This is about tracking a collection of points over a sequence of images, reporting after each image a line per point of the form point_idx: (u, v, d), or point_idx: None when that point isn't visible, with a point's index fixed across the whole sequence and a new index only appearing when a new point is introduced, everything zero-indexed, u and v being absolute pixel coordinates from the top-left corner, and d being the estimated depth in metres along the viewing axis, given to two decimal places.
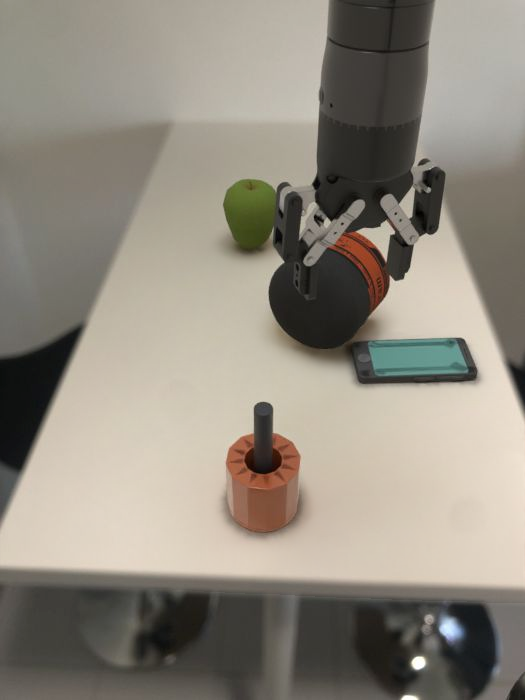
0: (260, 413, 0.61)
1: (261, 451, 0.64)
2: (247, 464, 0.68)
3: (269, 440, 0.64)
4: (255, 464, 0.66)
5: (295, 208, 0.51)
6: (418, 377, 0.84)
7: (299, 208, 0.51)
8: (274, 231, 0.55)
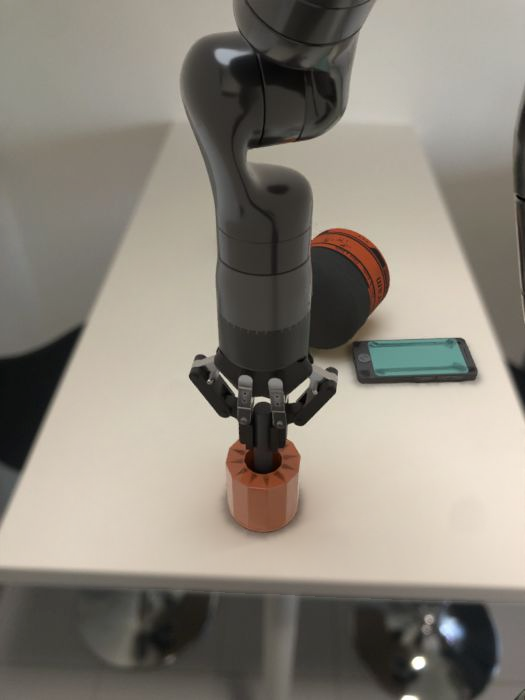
0: (260, 413, 0.61)
1: (261, 451, 0.64)
2: (247, 464, 0.68)
3: (269, 440, 0.64)
4: (255, 464, 0.66)
5: (198, 380, 0.59)
6: (418, 377, 0.84)
7: (202, 380, 0.59)
8: None
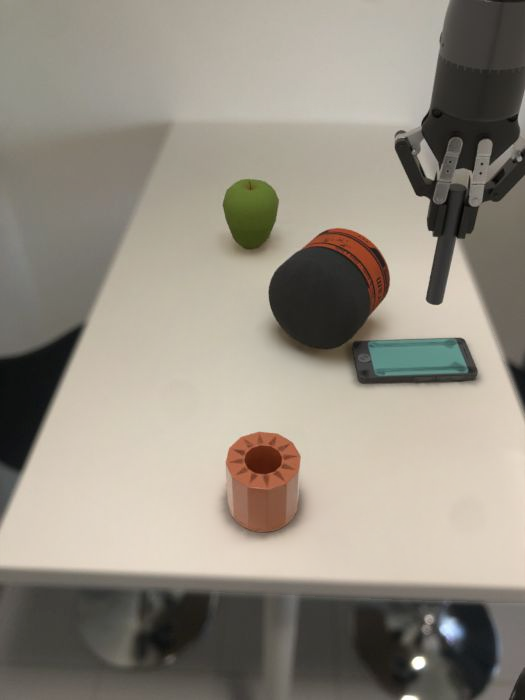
0: (456, 191, 0.63)
1: (448, 237, 0.66)
2: (247, 464, 0.68)
3: (457, 224, 0.66)
4: (437, 256, 0.68)
5: (404, 151, 0.61)
6: (418, 377, 0.84)
7: (407, 150, 0.61)
8: None
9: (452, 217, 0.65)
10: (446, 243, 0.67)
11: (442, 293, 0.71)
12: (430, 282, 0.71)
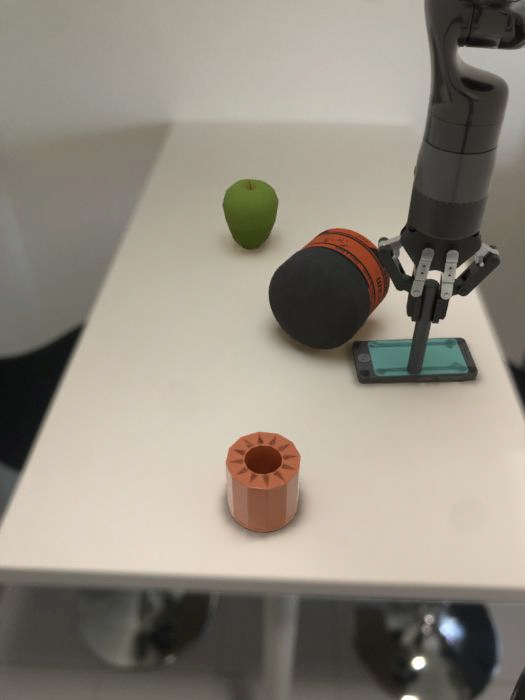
0: (430, 286, 0.75)
1: (424, 322, 0.78)
2: (247, 464, 0.68)
3: (432, 312, 0.78)
4: (415, 336, 0.80)
5: (385, 256, 0.73)
6: (418, 377, 0.84)
7: (388, 255, 0.73)
8: None
9: (427, 307, 0.77)
10: (423, 326, 0.79)
11: (420, 365, 0.83)
12: (410, 356, 0.83)
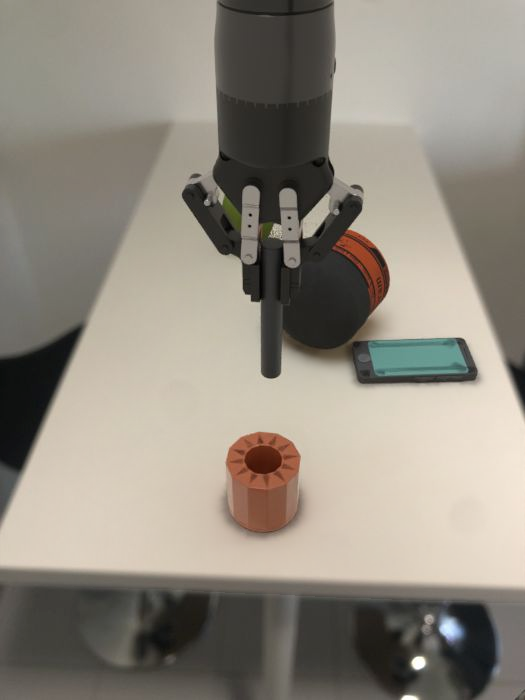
0: (269, 248, 0.51)
1: (269, 302, 0.54)
2: (247, 464, 0.68)
3: (279, 287, 0.53)
4: (262, 323, 0.56)
5: (194, 201, 0.48)
6: (418, 377, 0.84)
7: (198, 199, 0.48)
8: None
9: (270, 279, 0.52)
10: (269, 309, 0.54)
11: (276, 365, 0.58)
12: (261, 352, 0.58)
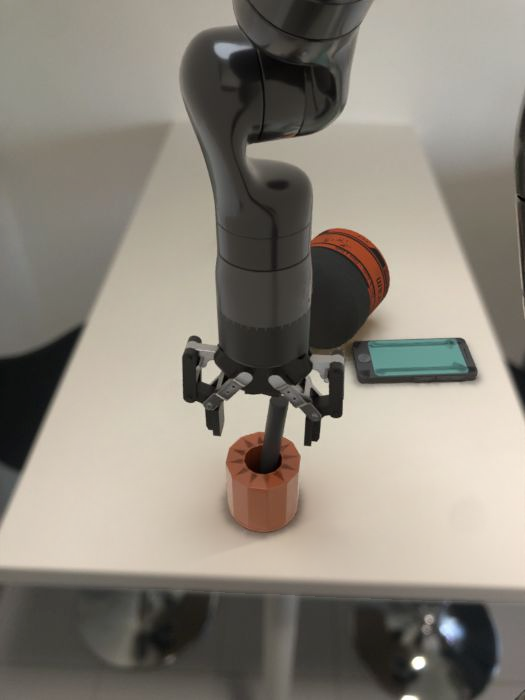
0: (277, 405, 0.62)
1: (271, 445, 0.65)
2: (247, 464, 0.68)
3: (280, 434, 0.64)
4: (262, 459, 0.66)
5: (189, 362, 0.58)
6: (418, 377, 0.84)
7: (193, 363, 0.58)
8: None
9: (274, 428, 0.63)
10: (270, 450, 0.65)
11: None
12: None
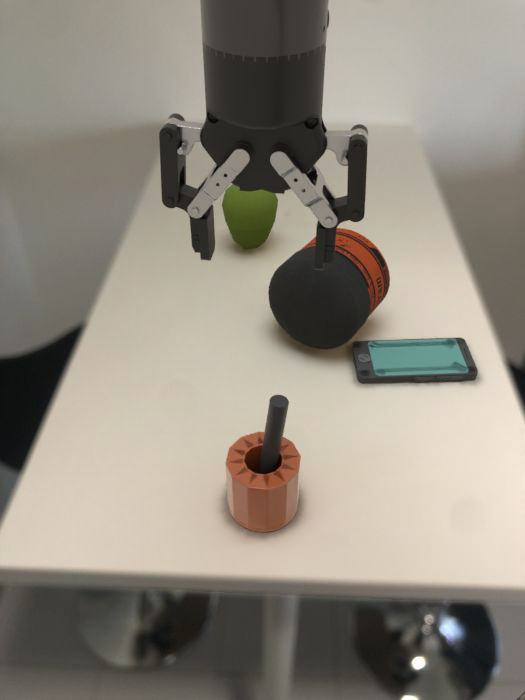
0: (277, 405, 0.62)
1: (271, 445, 0.65)
2: (247, 464, 0.68)
3: (280, 434, 0.64)
4: (262, 459, 0.66)
5: (169, 142, 0.45)
6: (418, 377, 0.84)
7: (173, 144, 0.45)
8: None
9: (274, 428, 0.63)
10: (270, 450, 0.65)
11: None
12: None
